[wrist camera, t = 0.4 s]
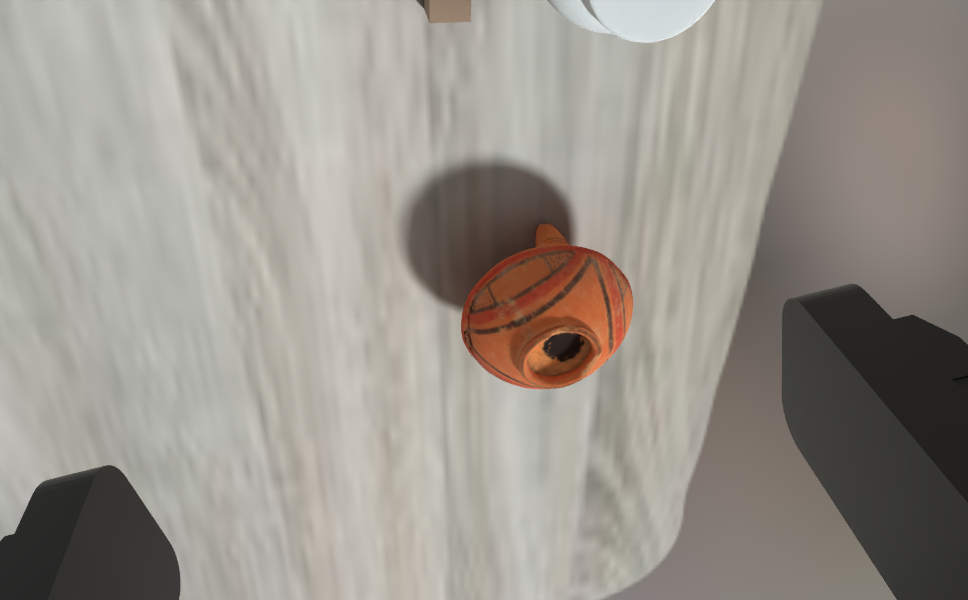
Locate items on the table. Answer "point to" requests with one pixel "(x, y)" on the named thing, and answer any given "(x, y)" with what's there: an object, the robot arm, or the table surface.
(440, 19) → the guide channel
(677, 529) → the table surface
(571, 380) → the pot
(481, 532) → the table surface
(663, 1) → the pill bottle
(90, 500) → the robot arm
